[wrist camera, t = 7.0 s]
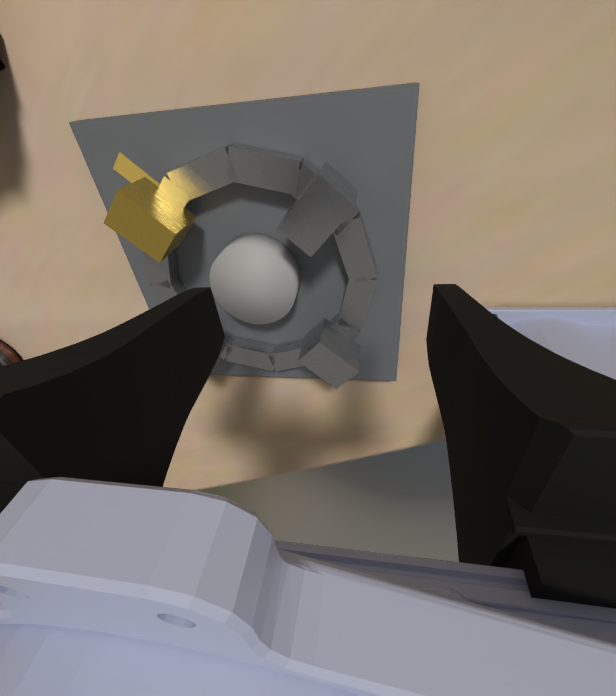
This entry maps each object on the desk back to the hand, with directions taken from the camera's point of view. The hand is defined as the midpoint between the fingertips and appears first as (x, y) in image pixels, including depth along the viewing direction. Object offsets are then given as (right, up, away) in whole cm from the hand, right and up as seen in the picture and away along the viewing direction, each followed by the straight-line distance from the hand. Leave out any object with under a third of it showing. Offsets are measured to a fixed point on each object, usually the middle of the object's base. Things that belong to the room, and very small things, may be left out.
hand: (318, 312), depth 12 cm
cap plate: (-3, +4, +11) cm, 12 cm away
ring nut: (-3, +3, +10) cm, 11 cm away
